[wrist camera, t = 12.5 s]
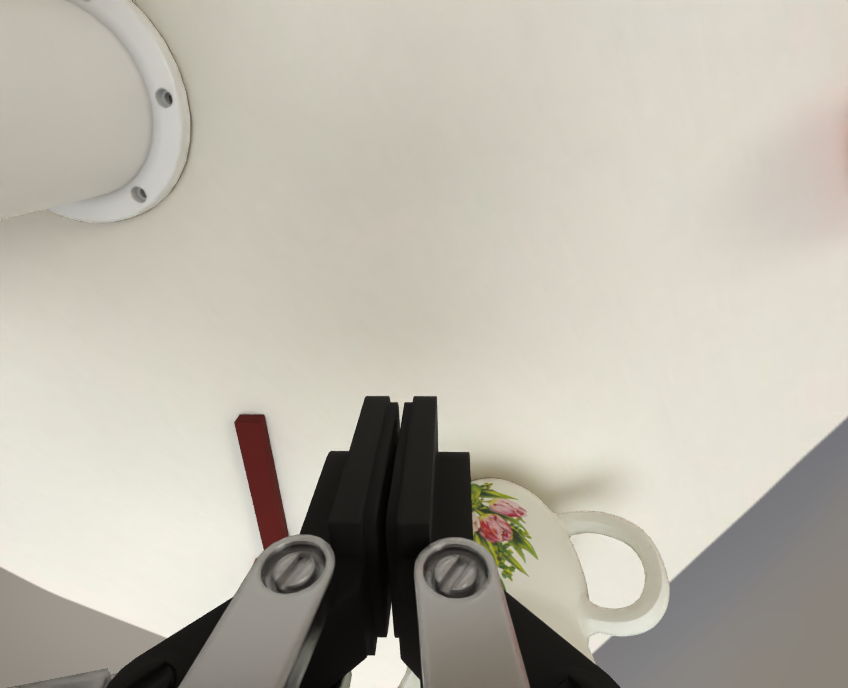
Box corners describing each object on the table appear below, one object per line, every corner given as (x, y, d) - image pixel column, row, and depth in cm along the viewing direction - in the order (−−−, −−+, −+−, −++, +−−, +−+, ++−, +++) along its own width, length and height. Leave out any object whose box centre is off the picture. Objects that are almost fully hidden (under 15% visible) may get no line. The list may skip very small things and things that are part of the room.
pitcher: (646, 530, 37) (735, 741, 25) (424, 587, 42) (406, 792, 29) (602, 412, 33) (682, 594, 21) (362, 489, 38) (311, 677, 25)
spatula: (269, 615, 45) (265, 626, 44) (220, 414, 36) (214, 422, 35) (321, 618, 44) (317, 629, 43) (284, 414, 35) (279, 422, 35)
